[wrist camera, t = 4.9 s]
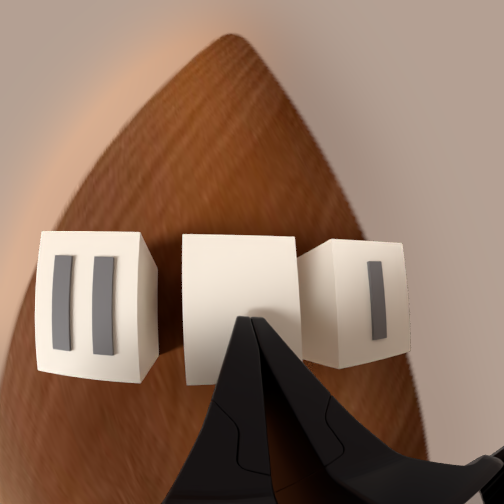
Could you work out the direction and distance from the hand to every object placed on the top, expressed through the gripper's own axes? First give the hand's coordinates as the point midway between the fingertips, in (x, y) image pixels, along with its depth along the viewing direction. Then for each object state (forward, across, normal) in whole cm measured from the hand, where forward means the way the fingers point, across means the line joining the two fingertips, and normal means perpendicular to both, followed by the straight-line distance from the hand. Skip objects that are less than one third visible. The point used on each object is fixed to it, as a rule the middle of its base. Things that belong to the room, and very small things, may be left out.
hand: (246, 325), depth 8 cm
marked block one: (+6, -6, +5) cm, 9 cm away
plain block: (+6, 0, +5) cm, 7 cm away
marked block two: (+5, +6, +5) cm, 9 cm away
